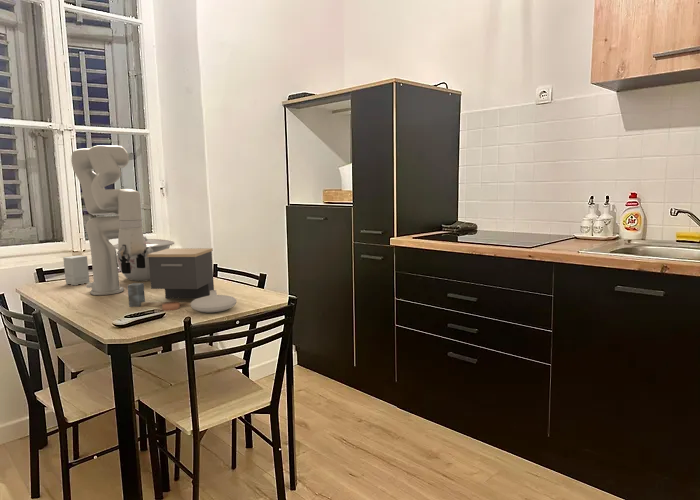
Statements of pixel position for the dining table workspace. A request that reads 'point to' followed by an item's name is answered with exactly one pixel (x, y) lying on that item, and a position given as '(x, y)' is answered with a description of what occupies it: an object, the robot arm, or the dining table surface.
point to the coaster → (170, 306)
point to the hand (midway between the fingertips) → (133, 270)
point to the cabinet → (182, 272)
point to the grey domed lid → (213, 303)
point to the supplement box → (76, 270)
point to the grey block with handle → (138, 297)
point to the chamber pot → (151, 247)
